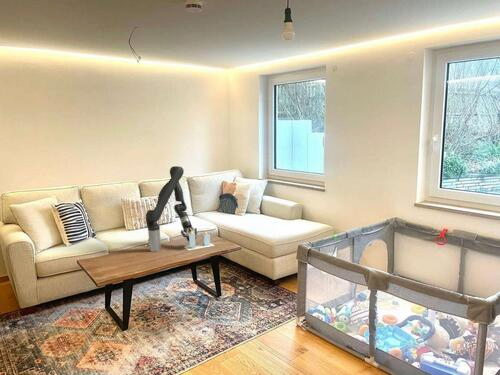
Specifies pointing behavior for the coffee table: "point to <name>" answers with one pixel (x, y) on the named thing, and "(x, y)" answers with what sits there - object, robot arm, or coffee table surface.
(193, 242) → the post
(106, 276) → the coffee table surface
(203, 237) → the post
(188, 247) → the card
